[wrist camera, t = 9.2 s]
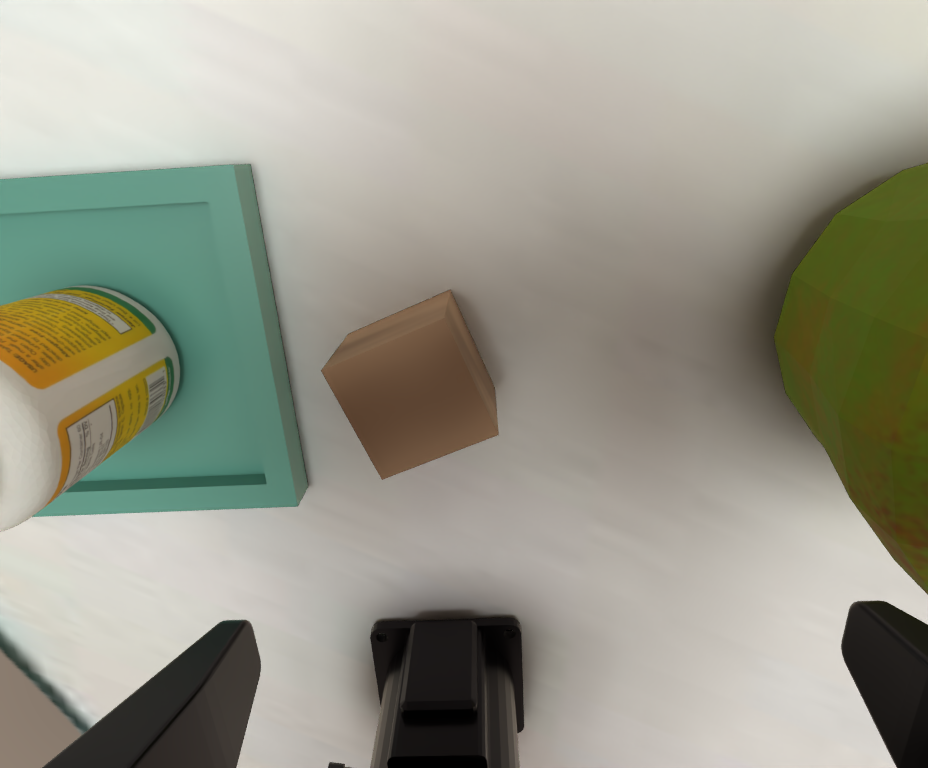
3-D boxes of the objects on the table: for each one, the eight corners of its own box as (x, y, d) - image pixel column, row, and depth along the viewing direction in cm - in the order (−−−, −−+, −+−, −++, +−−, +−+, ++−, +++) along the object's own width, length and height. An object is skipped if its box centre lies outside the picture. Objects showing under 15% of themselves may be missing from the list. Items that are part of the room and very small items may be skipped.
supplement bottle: (210, 405, 21) (13, 582, 12) (80, 441, 22) (-198, 636, 13) (140, 261, 19) (-152, 345, 10) (1, 305, 20) (-389, 421, 11)
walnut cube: (494, 387, 21) (498, 434, 18) (398, 425, 22) (381, 479, 18) (450, 288, 20) (444, 317, 16) (349, 333, 21) (320, 370, 17)
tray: (308, 486, 23) (298, 506, 22) (16, 498, 23) (-12, 518, 22) (250, 164, 19) (233, 164, 17) (-106, 187, 19) (-149, 188, 18)
